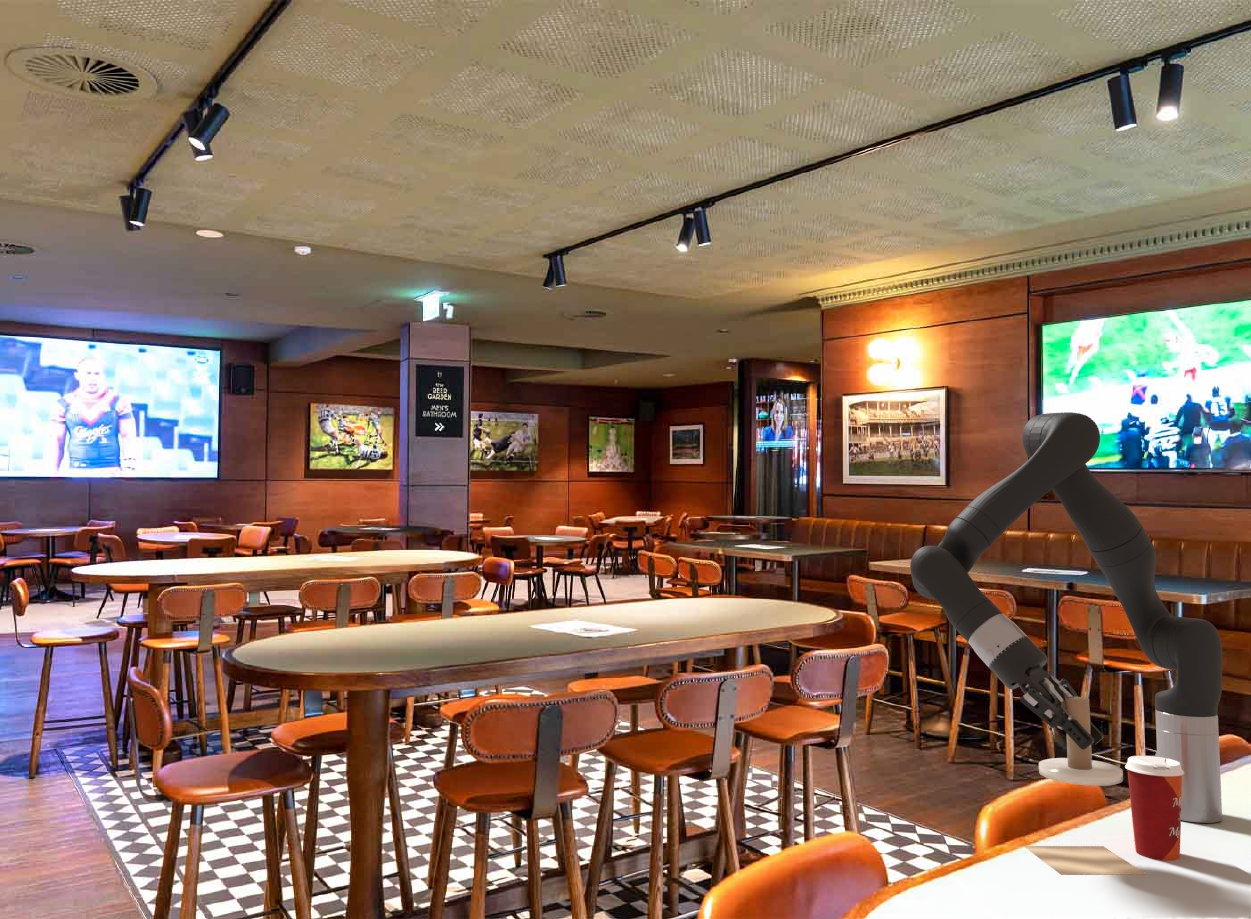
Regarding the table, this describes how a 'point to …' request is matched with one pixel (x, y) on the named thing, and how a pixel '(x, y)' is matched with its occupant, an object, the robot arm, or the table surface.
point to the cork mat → (1084, 860)
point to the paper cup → (1156, 806)
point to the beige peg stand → (1080, 756)
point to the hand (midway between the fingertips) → (1093, 743)
